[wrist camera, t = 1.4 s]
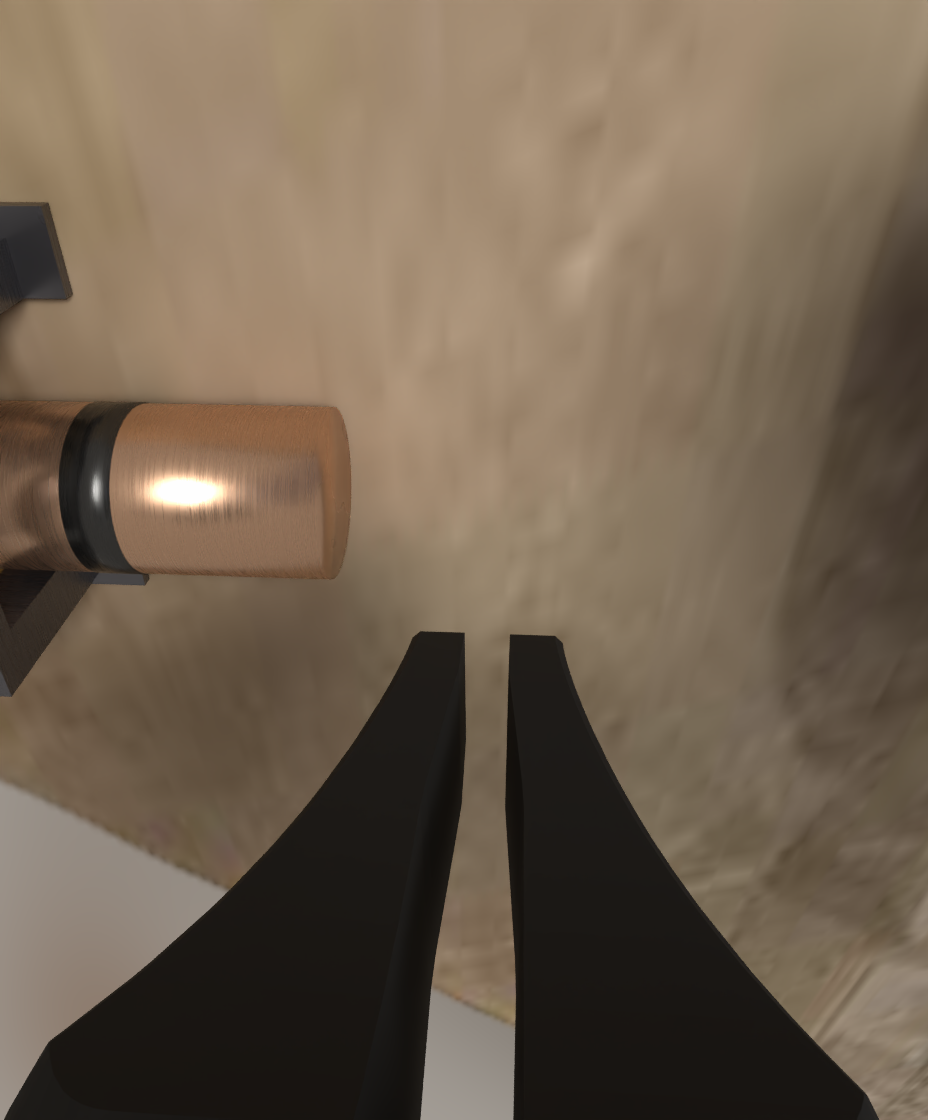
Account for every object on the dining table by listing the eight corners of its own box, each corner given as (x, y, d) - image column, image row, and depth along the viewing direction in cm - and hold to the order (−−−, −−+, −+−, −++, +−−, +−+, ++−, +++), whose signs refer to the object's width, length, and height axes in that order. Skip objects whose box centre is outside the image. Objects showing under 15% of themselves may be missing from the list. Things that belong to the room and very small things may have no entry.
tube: (330, 368, 17) (304, 522, 16) (357, 472, 21) (338, 609, 19) (-96, 361, 18) (-168, 509, 16) (-7, 463, 21) (-58, 596, 19)
